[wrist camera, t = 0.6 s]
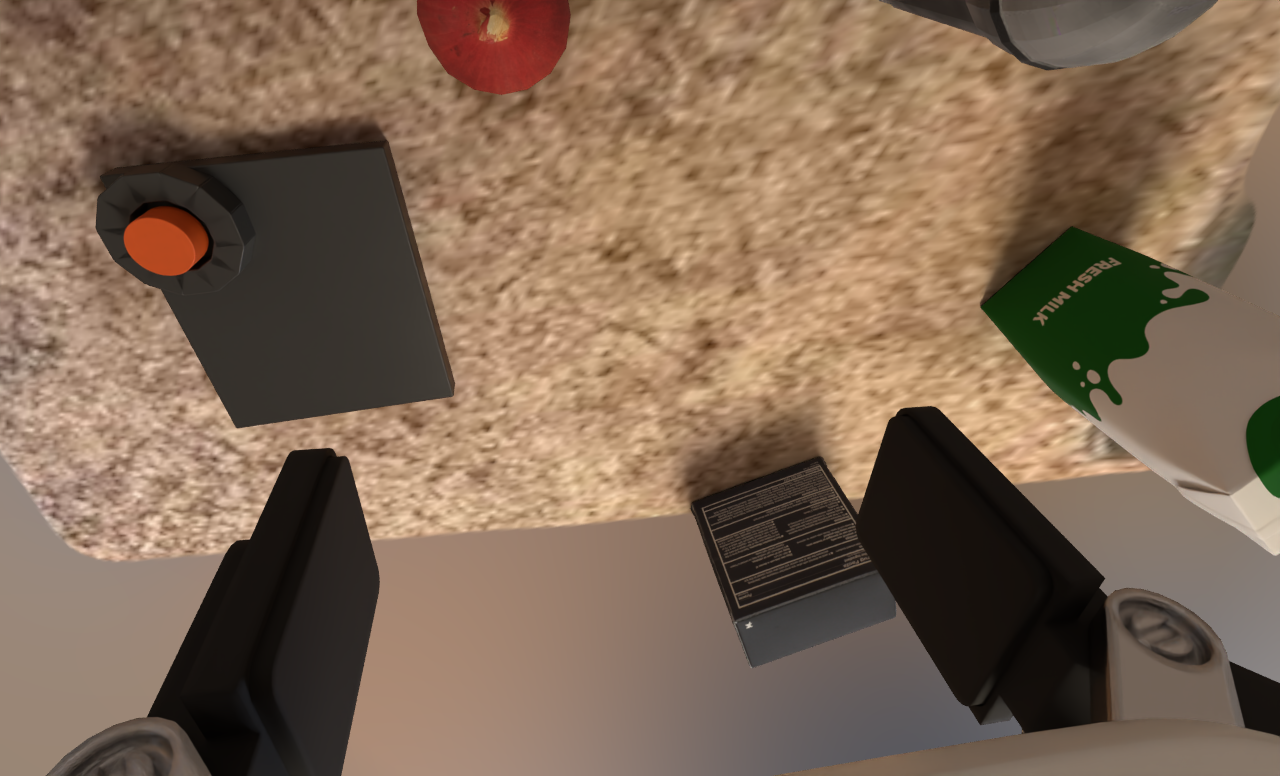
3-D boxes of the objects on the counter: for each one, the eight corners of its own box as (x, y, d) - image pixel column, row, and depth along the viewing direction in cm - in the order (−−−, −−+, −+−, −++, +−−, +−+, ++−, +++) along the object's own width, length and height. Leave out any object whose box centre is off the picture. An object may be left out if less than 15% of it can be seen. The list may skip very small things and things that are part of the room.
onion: (406, -63, 26) (372, -71, 19) (544, -90, 26) (558, -107, 19) (453, 90, 29) (438, 128, 22) (575, 65, 29) (595, 95, 23)
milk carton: (1078, 205, 38) (1501, 384, 22) (1131, 286, 43) (1519, 486, 26) (960, 309, 41) (1259, 536, 25) (1022, 375, 46) (1310, 606, 29)
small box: (707, 554, 50) (749, 675, 42) (687, 501, 47) (728, 622, 38) (832, 509, 50) (900, 622, 42) (822, 453, 46) (894, 564, 38)
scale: (105, 162, 28) (67, 181, 26) (386, 133, 29) (375, 149, 27) (239, 415, 36) (220, 447, 34) (455, 383, 38) (452, 413, 35)
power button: (128, 209, 27) (110, 221, 26) (192, 202, 27) (177, 214, 26) (158, 265, 28) (142, 279, 27) (219, 258, 29) (206, 272, 27)
